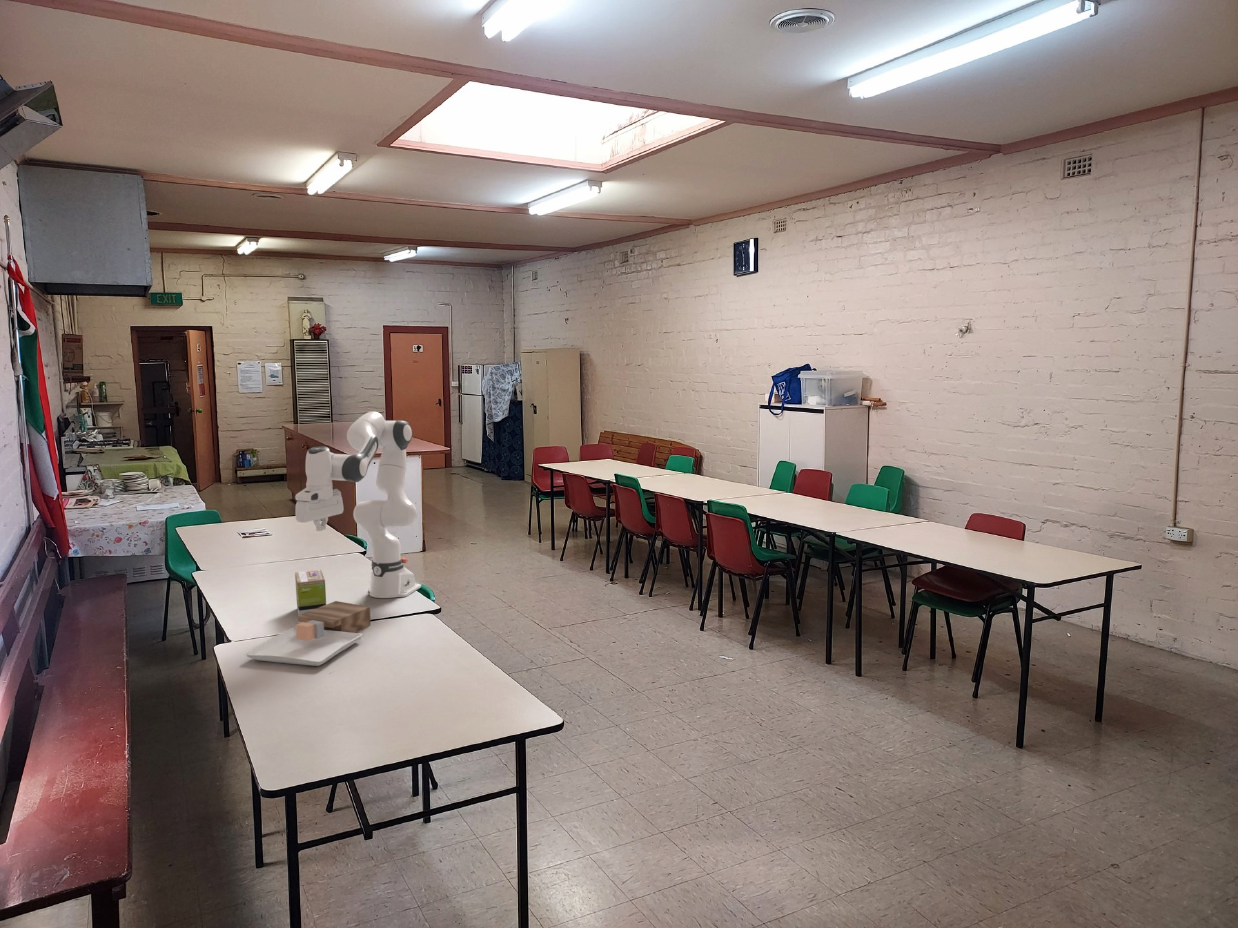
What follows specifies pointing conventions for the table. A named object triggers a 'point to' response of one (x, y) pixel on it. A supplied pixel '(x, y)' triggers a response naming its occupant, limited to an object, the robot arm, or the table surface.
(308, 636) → the tile
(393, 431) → the robot arm
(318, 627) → the tile
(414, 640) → the table surface
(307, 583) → the tea box
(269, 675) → the table surface
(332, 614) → the wooden box
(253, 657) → the square plate
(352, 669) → the table surface
